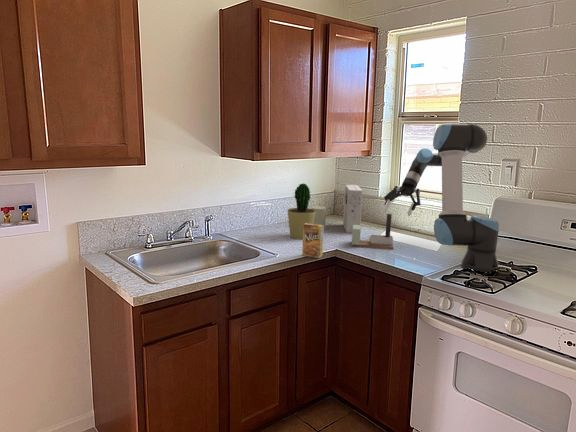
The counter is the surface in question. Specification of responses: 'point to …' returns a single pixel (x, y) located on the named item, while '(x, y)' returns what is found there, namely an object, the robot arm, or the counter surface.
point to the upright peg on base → (387, 226)
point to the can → (319, 215)
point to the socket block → (356, 234)
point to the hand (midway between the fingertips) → (396, 212)
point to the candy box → (312, 240)
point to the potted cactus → (300, 212)
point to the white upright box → (352, 207)
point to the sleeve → (381, 240)
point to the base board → (372, 245)
